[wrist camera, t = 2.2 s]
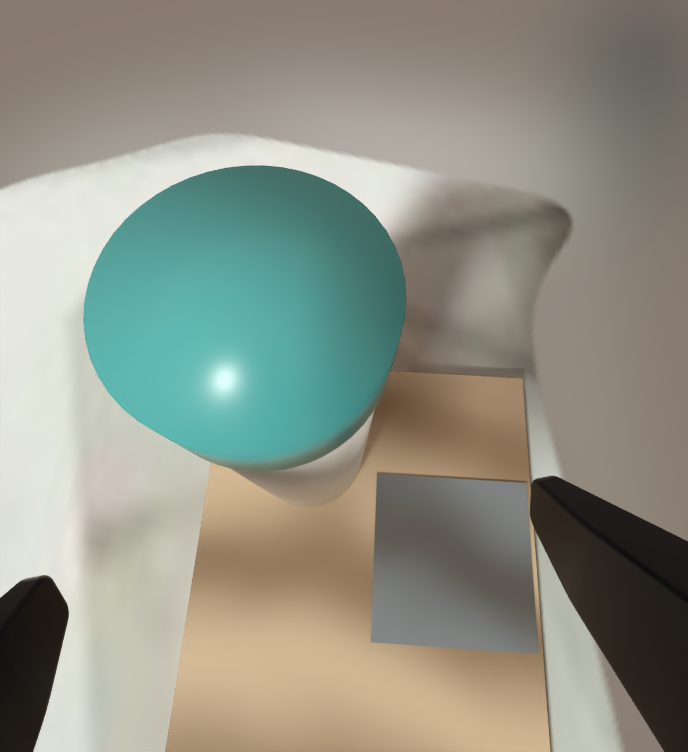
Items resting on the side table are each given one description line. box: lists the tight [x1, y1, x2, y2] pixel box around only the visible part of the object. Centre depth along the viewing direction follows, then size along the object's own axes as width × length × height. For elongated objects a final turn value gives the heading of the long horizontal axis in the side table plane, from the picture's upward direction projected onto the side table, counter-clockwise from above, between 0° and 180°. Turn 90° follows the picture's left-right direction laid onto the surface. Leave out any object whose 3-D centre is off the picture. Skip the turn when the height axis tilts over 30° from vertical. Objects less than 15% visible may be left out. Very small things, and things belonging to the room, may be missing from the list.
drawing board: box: [165, 371, 550, 752], centre depth 17 cm, size 18×13×1 cm
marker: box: [84, 166, 406, 507], centre depth 13 cm, size 5×5×13 cm
